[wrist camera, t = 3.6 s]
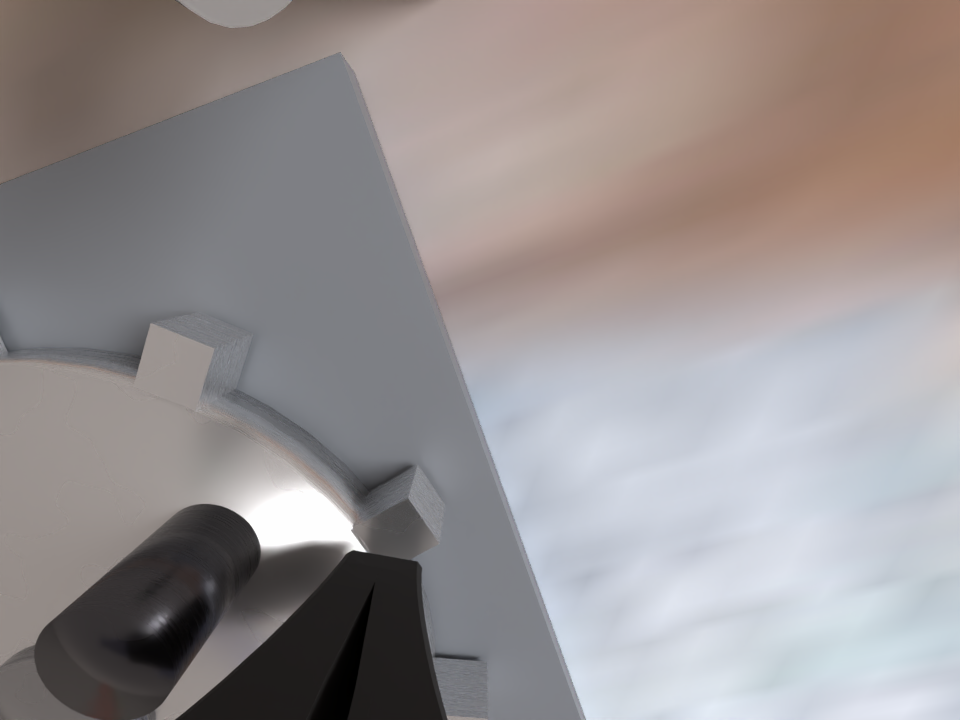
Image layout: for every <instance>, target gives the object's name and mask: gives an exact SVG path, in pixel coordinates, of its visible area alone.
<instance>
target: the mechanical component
mask: <svg viewBox="0 0 960 720" xmlns="http://www.w3.org/2000/svg"><path fill="white" fill-rule="evenodd" d="M175 1H177V2H178V3H180V4H181V5H183V6H184V7H186V8H187V9H189V10H191V11H192V12H194V13H195V14H197V15H199V16H200V17H202V18H203V19H205V20H207V21H208V22H210V23H213V24H217V25H221V26H224V27H228V28H240V27H251V26H253V25H256V24H259V23H261V22H264V21H266V20H269V19H270V18H271V17H273V16H274V15H276V14H277V13H278V12H280V11H281V10H283V9H284V8H285V7H286V6H287V5H288V4H289V3H290V2H291V1H292V0H175Z"/></svg>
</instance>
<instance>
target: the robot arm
mask: <svg viewBox="0 0 960 720" xmlns="http://www.w3.org/2000/svg"><path fill="white" fill-rule="evenodd" d="M175 720H448V719H447V716H446V712H445V708H444V704H443V701H442V697H441V693H440V690H439V686H438V681H437V677H436V673H435V669H434V664H433V659H432V654H431V649H430V644H429V640H428V634H427V628H426V622H425V615H424V607H423V598H422V567H421V565H420V564H419V563H418V561H412V560H407V559H401V558H396V557H390V556H384V555H379V554H373V553H367V552H362V551H356V550H352V551H350V552H348V553H347V554H345V556H344V557H343V558H342V560H341V561H340V562H339V563H338V565H337V566H336V567H335V568H334V569H333V571H332V572H331V573H330V574H329V575H328V577H327V578H326V579H325V580H324V581H323V582H322V583H321V584H320V586H319V587H318V588H317V589H316V590H315V591H314V592H313V593H312V594H311V595H310V596H309V597H308V599H307V600H306V601H305V602H304V603H303V604H302V605H301V606H300V607H299V608H298V609H297V610H296V611H295V612H294V613H293V614H292V615H291V616H290V617H289V618H288V619H287V620H286V621H285V622H284V623H283V624H282V625H281V626H280V627H279V628H278V629H277V630H276V631H275V632H274V633H273V634H272V635H271V636H270V637H269V638H268V639H267V640H266V641H265V642H264V643H262V644H261V645H260V646H259V647H258V648H257V649H256V650H255V651H254V652H253V653H252V654H250V655H249V656H248V657H247V658H246V659H245V660H244V661H243V662H242V663H241V664H240V665H238V666H237V667H236V668H235V669H234V670H233V671H232V672H231V673H230V674H229V675H227V676H226V677H225V678H224V679H223V680H222V681H221V682H220V683H218V684H217V685H216V686H215V687H214V688H213V689H211V690H210V691H209V692H208V693H207V694H206V695H204V696H203V697H202V698H201V699H200V700H198V701H197V702H196V703H195V704H194V705H192V706H191V707H190V708H189V709H188V710H186V711H185V712H184V713H183V714H181V715H180V716H179V717H178V718H176V719H175Z"/></svg>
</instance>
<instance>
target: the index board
mask: <svg viewBox="0 0 960 720" xmlns="http://www.w3.org/2000/svg"><path fill="white" fill-rule="evenodd" d="M198 312H200V313H202V314H205V315H207V316H210V317H212V318H215V319H217V320H220V321H222V322H224V323H227V324H229V325H232V326H234V327H237V328H239V329H242V330H244V331H247V332H249V333H251V334H253V337H252V340H251V343H250V346H249V349H248V352H247V355H246V358H245V361H244V365H243V368H242V371H241V374H240V377H239V380H238V383H237V386H236V389H237V390H239V391H241V392H243V393H245V394H247V395H249V396H251V397H253V398H255V399H257V400H259V401H260V402H262V403H264V404H266V405H268V406H270V407H272V408H273V409H275V410H276V411H278V412H279V413H281V414H282V415H284V416H285V417H287V418H288V419H290V420H291V421H292V422H294V423H295V424H297V425H298V426H300V427H301V428H303V429H304V430H306V431H307V432H309V433H310V434H311V435H313V436H314V437H315V438H316V439H317V440H318V441H320V442H321V443H322V444H323V445H324V446H325V447H326V448H328V449H329V450H330V451H331V452H332V453H333V454H334V455H336V456H337V457H338V458H339V459H340V460H341V461H343V462H344V463H345V464H346V465H347V466H348V467H349V469H350V470H351V471H352V472H353V473H354V474H355V475H356V476H357V477H358V479H359V480H360V481H361V482H362V483H363V484H364V485H365V486H366V487H367V489H368V490H369V491H371V490H372V489H374V488H376V487H378V486H380V485H381V484H383V483H385V482H387V481H389V480H390V479H392V478H394V477H396V476H398V475H400V474H401V473H403V472H405V471H407V470H409V469H410V468H412V467H414V466H416V465H419V467H420V468H421V470H422V471H423V473H424V474H425V476H426V477H427V479H428V480H429V482H430V483H431V485H432V486H433V488H434V489H435V491H436V492H437V494H438V495H439V496H440V498H441V499H442V501H443V502H444V504H445V509H444V516H443V523H442V530H441V537H440V544H438V545H436V546H435V547H433V548H431V549H429V550H427V551H425V552H423V553H421V554H419V555H418V556H416V557H414V558H413V560H414V561H418V563H419V564H420V565H421V567H422V584H423V587H424V590H425V593H426V596H427V599H428V602H429V607H430V613H431V618H432V624H433V629H434V635H435V658H447V659H460V660H473V661H485V662H487V692H488V720H586V719H585V716H584V713H583V710H582V708H581V705H580V702H579V699H578V696H577V694H576V691H575V688H574V685H573V682H572V680H571V677H570V674H569V671H568V669H567V666H566V663H565V660H564V657H563V655H562V652H561V649H560V646H559V643H558V641H557V638H556V635H555V632H554V629H553V627H552V624H551V621H550V618H549V615H548V613H547V610H546V607H545V604H544V601H543V599H542V596H541V593H540V590H539V587H538V585H537V582H536V579H535V576H534V573H533V571H532V568H531V565H530V562H529V559H528V557H527V554H526V551H525V548H524V545H523V543H522V540H521V537H520V534H519V531H518V529H517V526H516V523H515V520H514V518H513V515H512V512H511V509H510V506H509V504H508V501H507V498H506V495H505V492H504V490H503V487H502V484H501V481H500V478H499V476H498V473H497V470H496V467H495V464H494V462H493V459H492V456H491V453H490V450H489V448H488V445H487V442H486V439H485V436H484V434H483V431H482V428H481V425H480V422H479V420H478V417H477V414H476V411H475V408H474V406H473V403H472V400H471V397H470V394H469V392H468V389H467V386H466V383H465V380H464V378H463V375H462V372H461V369H460V367H459V364H458V361H457V358H456V355H455V353H454V350H453V347H452V344H451V341H450V339H449V336H448V333H447V330H446V327H445V325H444V322H443V319H442V316H441V313H440V311H439V308H438V305H437V302H436V299H435V297H434V294H433V291H432V288H431V285H430V283H429V280H428V277H427V274H426V271H425V269H424V266H423V263H422V260H421V257H420V255H419V252H418V249H417V246H416V243H415V241H414V238H413V235H412V232H411V229H410V227H409V224H408V221H407V218H406V216H405V213H404V210H403V207H402V204H401V202H400V199H399V196H398V193H397V190H396V188H395V185H394V182H393V179H392V176H391V174H390V171H389V168H388V165H387V162H386V160H385V157H384V154H383V151H382V148H381V146H380V143H379V140H378V137H377V134H376V132H375V129H374V126H373V123H372V120H371V118H370V115H369V112H368V109H367V106H366V104H365V101H364V98H363V95H362V92H361V90H360V87H359V84H358V81H357V79H356V76H355V73H354V71H353V69H352V68H351V67H350V65H349V64H348V62H347V61H346V60H345V58H344V57H343V55H342V54H341V52H339V53H337V54H334V55H332V56H329V57H327V58H324V59H321V60H319V61H316V62H314V63H311V64H309V65H306V66H303V67H301V68H298V69H296V70H293V71H291V72H288V73H285V74H283V75H280V76H278V77H275V78H273V79H270V80H267V81H265V82H262V83H260V84H257V85H255V86H252V87H249V88H247V89H244V90H242V91H239V92H236V93H234V94H231V95H229V96H226V97H224V98H221V99H218V100H216V101H213V102H211V103H208V104H206V105H203V106H200V107H198V108H195V109H193V110H190V111H188V112H185V113H182V114H180V115H177V116H175V117H172V118H170V119H167V120H164V121H162V122H159V123H157V124H154V125H152V126H149V127H146V128H144V129H141V130H139V131H136V132H134V133H131V134H128V135H126V136H123V137H121V138H118V139H116V140H113V141H110V142H108V143H105V144H103V145H100V146H98V147H95V148H92V149H90V150H87V151H85V152H82V153H80V154H77V155H74V156H72V157H69V158H67V159H64V160H62V161H59V162H56V163H54V164H51V165H49V166H46V167H44V168H41V169H38V170H36V171H33V172H31V173H28V174H26V175H23V176H20V177H18V178H15V179H13V180H10V181H8V182H5V183H2V184H0V337H1V339H2V341H3V343H4V345H5V347H6V349H7V352H13V351H21V350H28V349H36V348H73V349H92V350H100V351H108V352H116V353H124V354H131V355H136V356H140V357H142V353H143V349H144V346H145V342H146V338H147V335H148V331H149V327H150V323H153V322H157V321H162V320H166V319H171V318H175V317H180V316H184V315H189V314H193V313H198Z"/></svg>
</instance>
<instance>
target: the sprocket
mask: <svg viewBox="0 0 960 720" xmlns="http://www.w3.org/2000/svg"><path fill="white" fill-rule="evenodd" d="M252 337H253V334H251V333H249V332H247V331H244V330H242V329H239V328H237V327H234V326H232V325H229V324H227V323H224V322H222V321H220V320H217V319H215V318H212V317H210V316H207V315H205V314H202V313H200V312H198V313H193V314H189V315H184V316H180V317H175V318H171V319H166V320H162V321H157V322H153V323H150V327H149V331H148V335H147V338H146V342H145V346H144V349H143V353H142V357H140V356H136V355H131V354H124V353H116V352H108V351H100V350H92V349H73V348H36V349H28V350H21V351H13V352H7V349H6V347H5V345H4V343H3V341H2V339H1V337H0V720H175V719H176V718H178V717H179V716H180V715H181V714H183V713H184V712H185V711H186V710H188V709H189V708H190V707H191V706H192V705H194V704H195V703H196V702H197V701H198V700H200V699H201V698H202V697H203V696H204V695H206V694H207V693H208V692H209V691H210V690H211V689H213V688H214V687H215V686H216V685H217V684H218V683H220V682H221V681H222V680H223V679H224V678H225V677H226V676H227V675H229V674H230V673H231V672H232V671H233V670H234V669H235V668H236V667H237V666H238V665H240V664H241V663H242V662H243V661H244V660H245V659H246V658H247V657H248V656H249V655H250V654H252V653H253V652H254V651H255V650H256V649H257V648H258V647H259V646H260V645H261V644H262V643H264V642H265V641H266V640H267V639H268V638H269V637H270V636H271V635H272V634H273V633H274V632H275V631H276V630H277V629H278V628H279V627H280V626H281V625H282V624H283V623H284V622H285V621H286V620H287V619H288V618H289V617H290V616H291V615H292V614H293V613H294V612H295V611H296V610H297V609H298V608H299V607H300V606H301V605H302V604H303V603H304V602H305V601H306V600H307V599H308V597H309V596H310V595H311V594H312V593H313V592H314V591H315V590H316V589H317V588H318V587H319V586H320V584H321V583H322V582H323V581H324V580H325V579H326V578H327V577H328V575H329V574H330V573H331V572H332V571H333V569H334V568H335V567H336V566H337V565H338V563H339V562H340V561H341V560H342V558H343V557H344V556H345V554H347V553H348V552H350V551H352V550H356V551H362V552H367V553H373V554H379V555H384V556H390V557H396V558H401V559H407V560H412V561H414V560H413V558H414V557H416V556H418V555H419V554H421V553H423V552H425V551H427V550H429V549H431V548H433V547H435V546H436V545H438V544H440V537H441V530H442V523H443V516H444V509H445V504H444V502H443V501H442V499H441V498H440V496H439V495H438V494H437V492H436V491H435V489H434V488H433V486H432V485H431V483H430V482H429V480H428V479H427V477H426V476H425V474H424V473H423V471H422V470H421V468H420V467H419V465H416V466H414V467H412V468H410V469H409V470H407V471H405V472H403V473H401V474H400V475H398V476H396V477H394V478H392V479H390V480H389V481H387V482H385V483H383V484H381V485H380V486H378V487H376V488H374V489H372V490H371V491H369V490H368V489H367V487H366V486H365V485H364V484H363V483H362V482H361V481H360V480H359V479H358V477H357V476H356V475H355V474H354V473H353V472H352V471H351V470H350V469H349V467H348V466H347V465H346V464H345V463H344V462H343V461H341V460H340V459H339V458H338V457H337V456H336V455H334V454H333V453H332V452H331V451H330V450H329V449H328V448H326V447H325V446H324V445H323V444H322V443H321V442H320V441H318V440H317V439H316V438H315V437H314V436H313V435H311V434H310V433H309V432H307V431H306V430H304V429H303V428H301V427H300V426H298V425H297V424H295V423H294V422H292V421H291V420H290V419H288V418H287V417H285V416H284V415H282V414H281V413H279V412H278V411H276V410H275V409H273V408H272V407H270V406H268V405H266V404H264V403H262V402H260V401H259V400H257V399H255V398H253V397H251V396H249V395H247V394H245V393H243V392H241V391H239V390H237V389H236V386H237V383H238V380H239V377H240V374H241V371H242V368H243V365H244V361H245V358H246V355H247V352H248V349H249V346H250V343H251V340H252ZM422 598H423V607H424V615H425V622H426V628H427V634H428V640H429V644H430V649H431V654H432V659H433V664H434V669H435V673H436V677H437V681H438V686H439V690H440V693H441V697H442V701H443V704H444V708H445V712H446V716H447V719H448V720H488V692H487V662H485V661H473V660H460V659H447V658H435V635H434V629H433V624H432V618H431V613H430V607H429V602H428V599H427V596H426V593H425V590H424V587H423V584H422Z"/></svg>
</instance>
